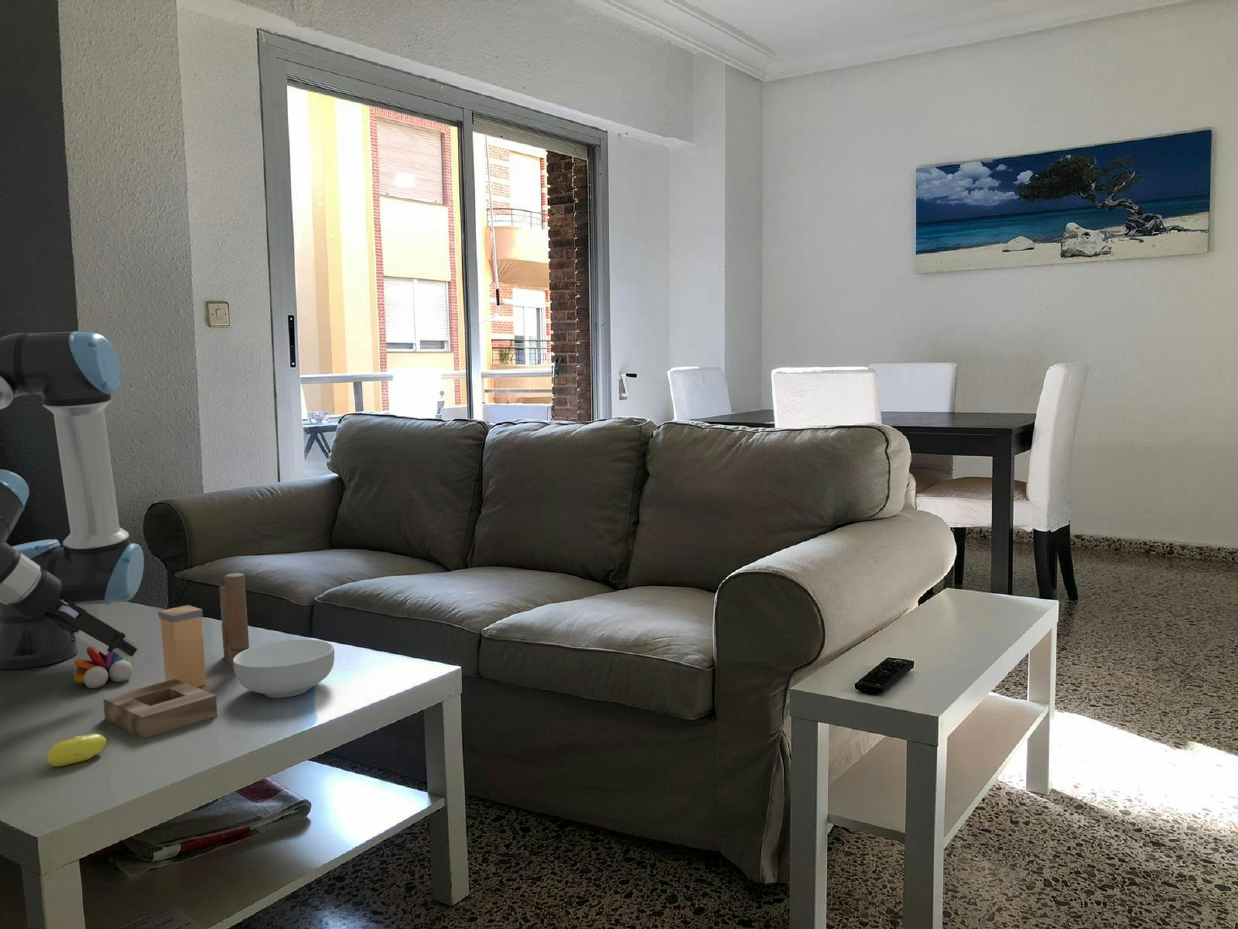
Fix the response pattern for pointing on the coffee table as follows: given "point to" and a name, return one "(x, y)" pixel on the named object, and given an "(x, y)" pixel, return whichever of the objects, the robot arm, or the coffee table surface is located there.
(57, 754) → the yellow oblong piece
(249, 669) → the cereal bowl
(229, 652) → the wooden v-shaped piece
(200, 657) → the plug
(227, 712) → the coffee table surface
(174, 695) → the header block
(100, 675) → the rainbow petal toy
